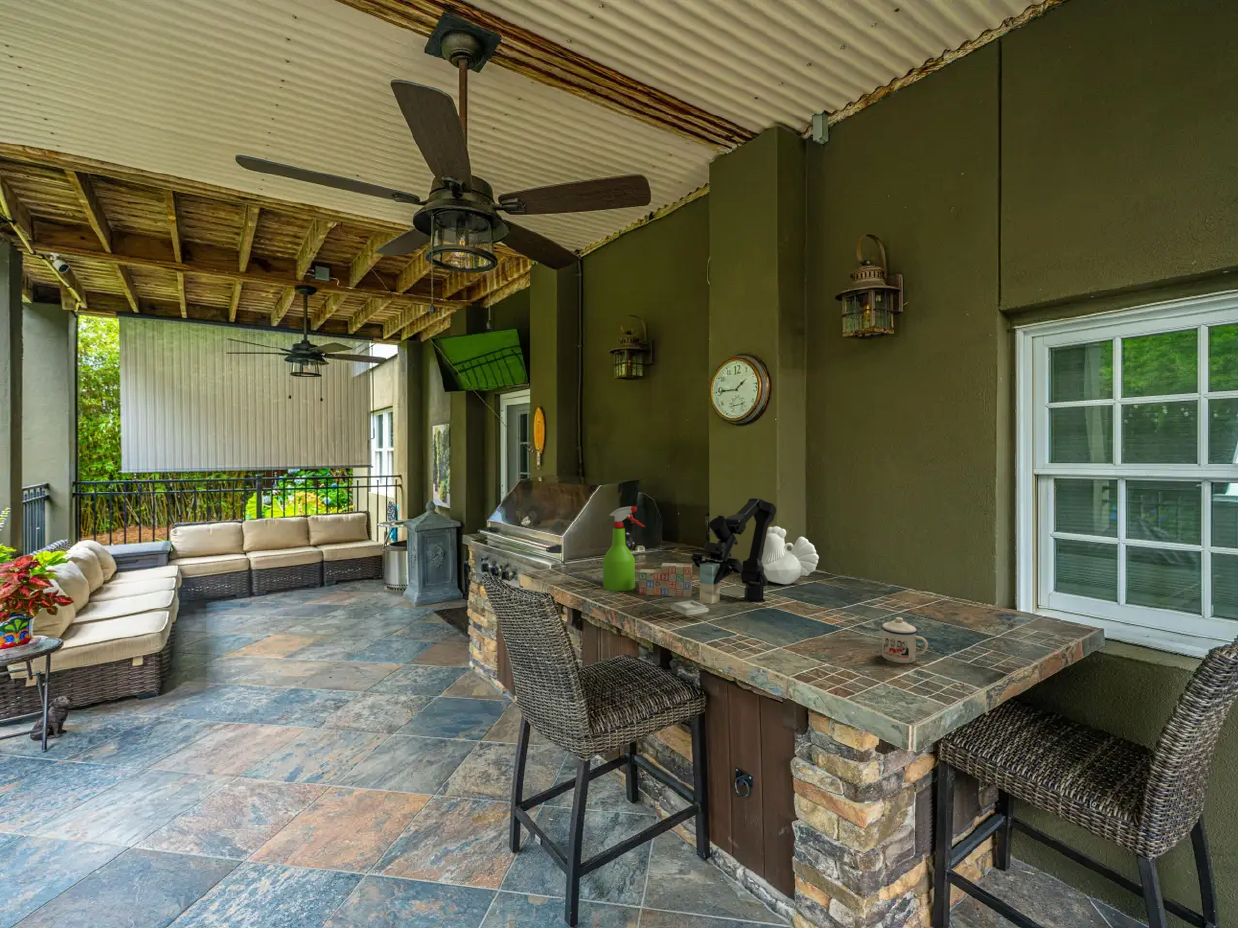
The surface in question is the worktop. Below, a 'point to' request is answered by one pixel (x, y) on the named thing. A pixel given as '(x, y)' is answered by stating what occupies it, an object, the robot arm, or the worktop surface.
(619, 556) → the spray bottle
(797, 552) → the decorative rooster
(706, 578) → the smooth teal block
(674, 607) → the base plate
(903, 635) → the teacup with lid
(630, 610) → the worktop surface
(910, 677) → the worktop surface
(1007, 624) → the worktop surface
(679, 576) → the stack of blocks
